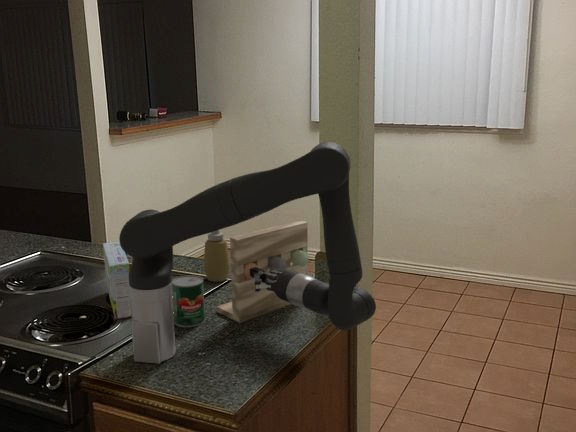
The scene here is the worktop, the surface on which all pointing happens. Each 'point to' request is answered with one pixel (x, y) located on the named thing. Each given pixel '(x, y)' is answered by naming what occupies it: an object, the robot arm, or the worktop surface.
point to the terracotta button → (248, 269)
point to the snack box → (117, 279)
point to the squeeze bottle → (216, 257)
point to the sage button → (299, 257)
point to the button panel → (257, 251)
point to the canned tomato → (188, 301)
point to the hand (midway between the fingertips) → (252, 271)
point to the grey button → (276, 263)
